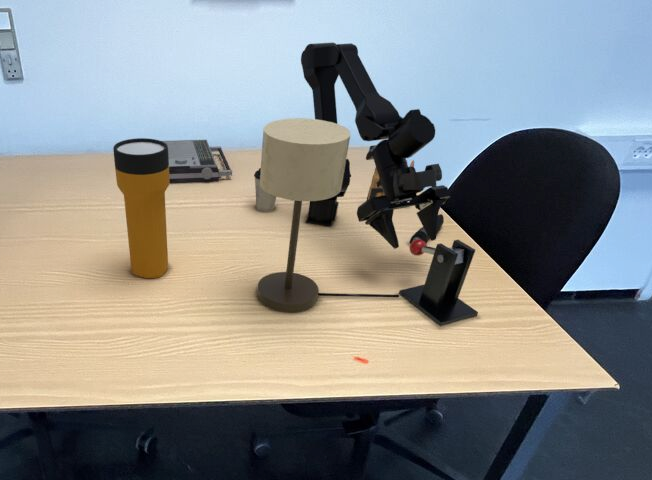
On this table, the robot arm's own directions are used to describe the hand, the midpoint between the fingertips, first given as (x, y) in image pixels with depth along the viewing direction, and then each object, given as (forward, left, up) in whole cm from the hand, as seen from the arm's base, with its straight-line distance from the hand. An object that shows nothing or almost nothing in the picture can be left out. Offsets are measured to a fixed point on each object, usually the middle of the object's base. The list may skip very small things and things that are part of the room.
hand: (415, 244), depth 103 cm
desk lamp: (-15, -11, -9) cm, 20 cm away
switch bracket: (+6, -7, -9) cm, 13 cm away
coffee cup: (-37, +26, -9) cm, 46 cm away
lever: (+4, -4, -1) cm, 6 cm away
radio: (-65, +47, -9) cm, 81 cm away
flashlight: (-52, -14, -9) cm, 54 cm away
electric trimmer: (+4, +24, -9) cm, 26 cm away
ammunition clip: (-7, +39, -9) cm, 41 cm away
